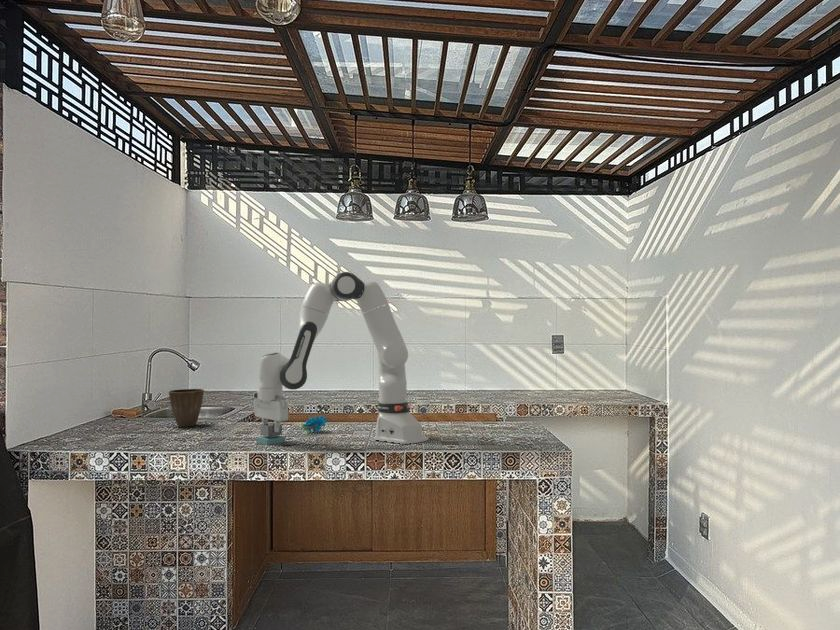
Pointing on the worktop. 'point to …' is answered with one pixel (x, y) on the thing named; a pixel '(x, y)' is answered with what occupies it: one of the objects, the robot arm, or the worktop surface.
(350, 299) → the robot arm
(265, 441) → the shaft block
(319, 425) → the blue toy dinosaur
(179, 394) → the plant pot
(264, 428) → the collar
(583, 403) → the worktop surface
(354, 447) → the worktop surface
